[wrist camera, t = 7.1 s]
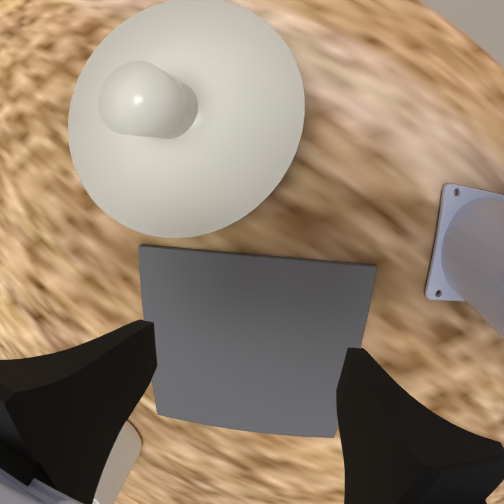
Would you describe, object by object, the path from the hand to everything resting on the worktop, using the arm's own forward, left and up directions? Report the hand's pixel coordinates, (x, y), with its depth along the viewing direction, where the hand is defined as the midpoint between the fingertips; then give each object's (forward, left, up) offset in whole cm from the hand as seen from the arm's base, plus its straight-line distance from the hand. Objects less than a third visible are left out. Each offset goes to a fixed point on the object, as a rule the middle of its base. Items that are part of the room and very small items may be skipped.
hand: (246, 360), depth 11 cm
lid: (+5, -9, -6) cm, 12 cm away
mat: (+1, +7, -10) cm, 13 cm away
